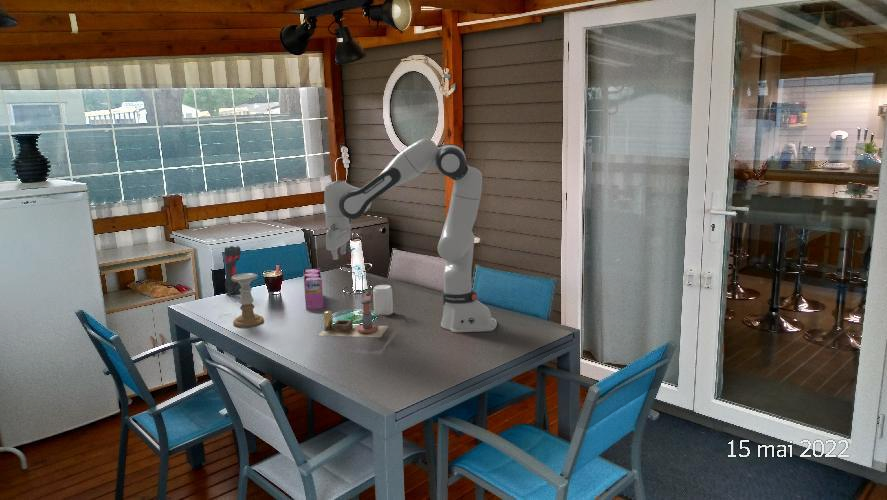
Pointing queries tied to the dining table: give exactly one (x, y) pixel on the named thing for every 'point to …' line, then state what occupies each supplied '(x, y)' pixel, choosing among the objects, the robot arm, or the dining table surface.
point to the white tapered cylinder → (383, 300)
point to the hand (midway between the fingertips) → (339, 256)
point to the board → (356, 332)
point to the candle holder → (246, 302)
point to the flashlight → (232, 269)
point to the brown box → (342, 326)
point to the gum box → (313, 289)
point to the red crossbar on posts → (367, 316)
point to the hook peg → (328, 320)
